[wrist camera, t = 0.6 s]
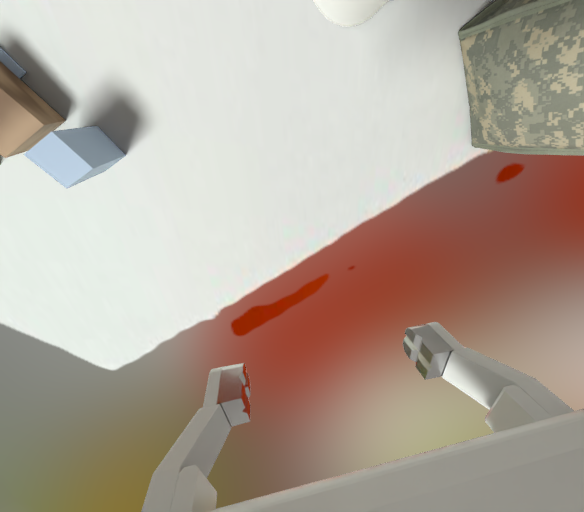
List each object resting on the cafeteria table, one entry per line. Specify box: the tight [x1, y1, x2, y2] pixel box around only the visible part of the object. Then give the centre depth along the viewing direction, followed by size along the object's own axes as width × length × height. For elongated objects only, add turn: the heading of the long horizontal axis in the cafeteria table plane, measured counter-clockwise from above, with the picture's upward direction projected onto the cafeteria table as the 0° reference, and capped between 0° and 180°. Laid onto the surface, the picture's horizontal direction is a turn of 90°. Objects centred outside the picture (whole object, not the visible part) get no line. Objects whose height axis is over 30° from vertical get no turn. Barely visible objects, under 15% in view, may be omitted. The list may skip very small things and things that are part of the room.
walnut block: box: [0, 62, 66, 158], centre depth 29 cm, size 8×8×5 cm
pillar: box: [24, 126, 126, 188], centre depth 32 cm, size 5×5×10 cm
